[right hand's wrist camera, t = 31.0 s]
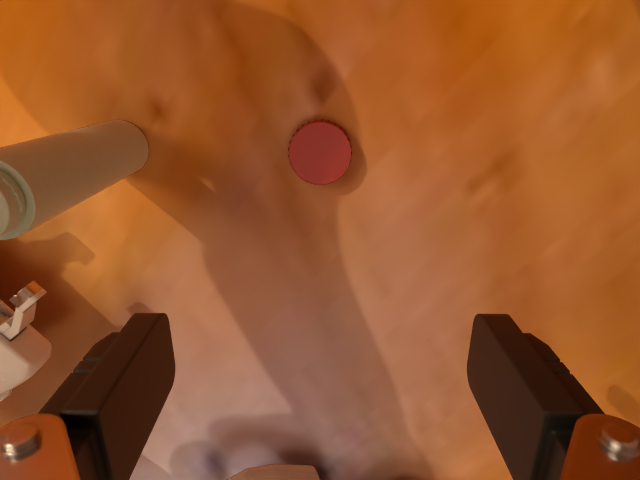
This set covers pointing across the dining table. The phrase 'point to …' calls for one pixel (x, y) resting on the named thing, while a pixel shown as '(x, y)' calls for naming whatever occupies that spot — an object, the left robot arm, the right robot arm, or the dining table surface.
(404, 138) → the dining table surface
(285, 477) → the animal horns
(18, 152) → the jar
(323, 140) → the lid
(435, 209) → the dining table surface
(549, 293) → the dining table surface
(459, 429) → the dining table surface
